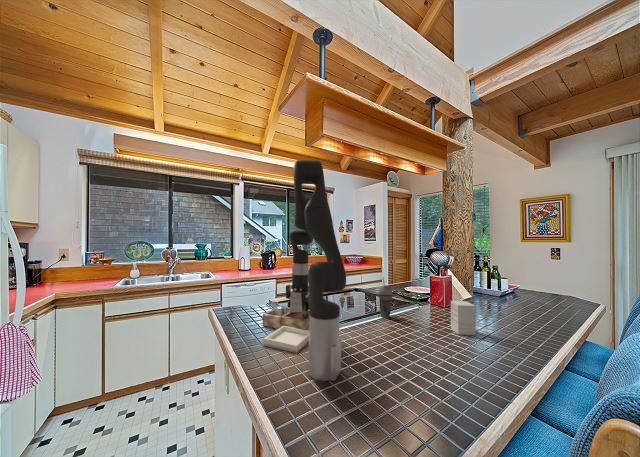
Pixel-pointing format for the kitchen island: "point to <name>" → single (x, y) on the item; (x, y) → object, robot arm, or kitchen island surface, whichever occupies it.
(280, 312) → the metal tin
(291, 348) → the plastic tray
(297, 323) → the wooden holder
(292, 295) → the coffee box
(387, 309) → the beverage cup
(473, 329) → the supplement box
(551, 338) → the kitchen island surface
